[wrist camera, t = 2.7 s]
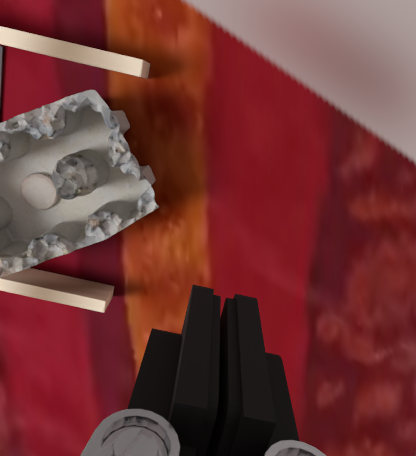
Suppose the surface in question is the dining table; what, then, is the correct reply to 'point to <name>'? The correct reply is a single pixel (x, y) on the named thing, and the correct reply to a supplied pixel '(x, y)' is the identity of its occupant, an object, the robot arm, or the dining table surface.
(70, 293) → the channel
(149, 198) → the egg carton
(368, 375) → the dining table surface
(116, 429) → the robot arm
